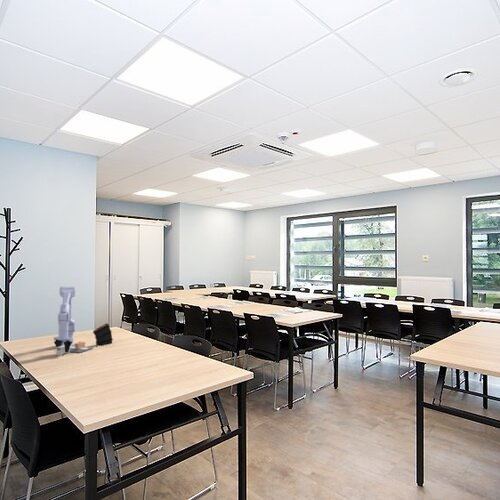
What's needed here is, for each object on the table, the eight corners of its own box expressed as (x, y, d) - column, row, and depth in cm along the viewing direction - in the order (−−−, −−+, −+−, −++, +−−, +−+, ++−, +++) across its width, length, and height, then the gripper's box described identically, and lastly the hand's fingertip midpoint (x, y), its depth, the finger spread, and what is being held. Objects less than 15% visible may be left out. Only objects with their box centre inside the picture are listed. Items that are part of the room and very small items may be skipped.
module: (56, 355, 232) (56, 347, 232) (65, 352, 239) (65, 344, 239) (60, 355, 230) (60, 347, 231) (69, 352, 237) (69, 345, 237)
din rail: (56, 350, 243) (56, 346, 243) (70, 346, 254) (70, 342, 254) (79, 353, 236) (79, 348, 237) (93, 349, 248) (93, 344, 248)
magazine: (116, 340, 268) (108, 323, 264) (100, 350, 259) (91, 333, 255) (114, 339, 270) (106, 322, 266) (98, 349, 262) (89, 332, 258)
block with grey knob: (74, 348, 242) (74, 342, 242) (81, 346, 247) (81, 341, 247) (78, 348, 241) (78, 343, 241) (84, 347, 246) (85, 341, 247)
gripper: (49, 331, 234) (49, 352, 233) (67, 332, 229) (66, 354, 228) (58, 329, 240) (58, 349, 240) (75, 330, 236) (75, 351, 235)
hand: (63, 351), depth 235 cm, fingers open, 6 cm apart
